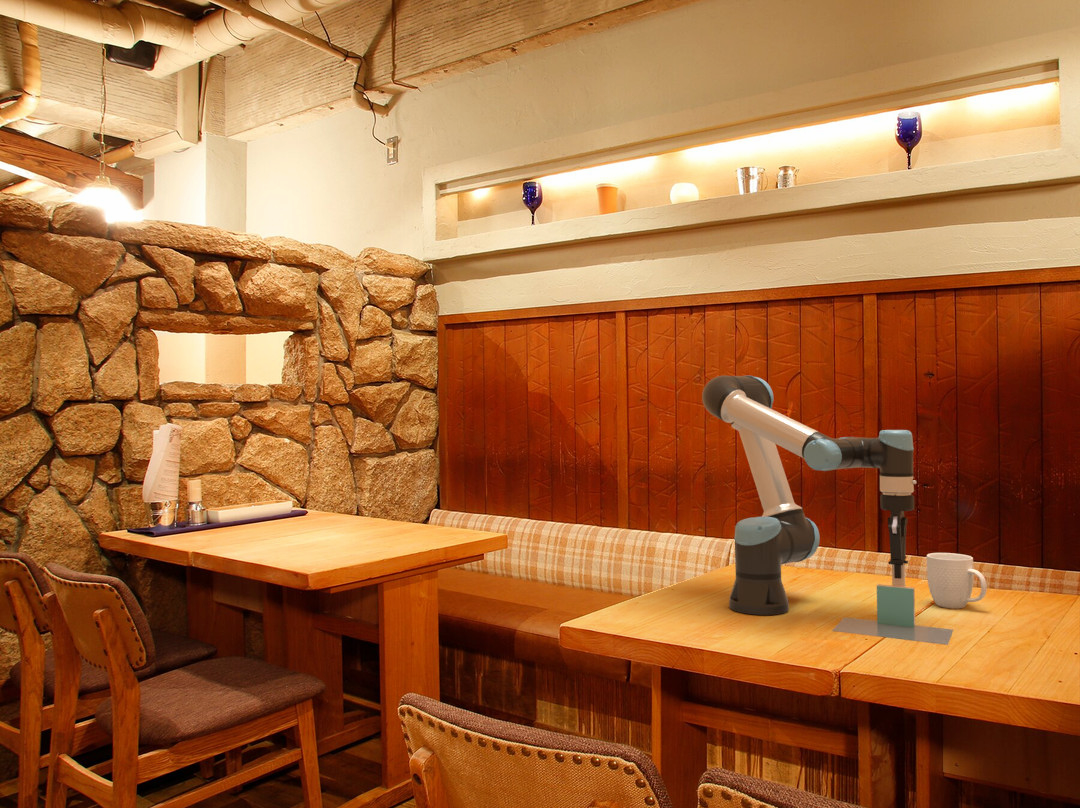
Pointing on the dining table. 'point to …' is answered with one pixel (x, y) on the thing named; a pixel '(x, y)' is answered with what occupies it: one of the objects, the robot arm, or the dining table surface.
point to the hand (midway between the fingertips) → (898, 590)
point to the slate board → (894, 631)
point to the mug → (952, 579)
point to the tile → (896, 605)
